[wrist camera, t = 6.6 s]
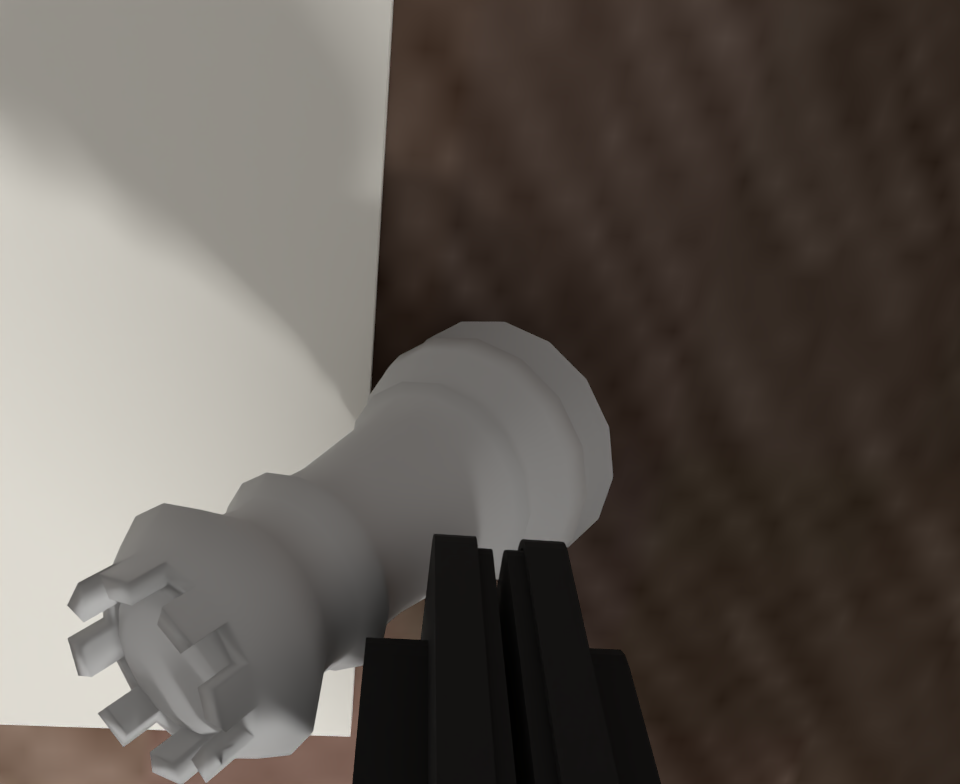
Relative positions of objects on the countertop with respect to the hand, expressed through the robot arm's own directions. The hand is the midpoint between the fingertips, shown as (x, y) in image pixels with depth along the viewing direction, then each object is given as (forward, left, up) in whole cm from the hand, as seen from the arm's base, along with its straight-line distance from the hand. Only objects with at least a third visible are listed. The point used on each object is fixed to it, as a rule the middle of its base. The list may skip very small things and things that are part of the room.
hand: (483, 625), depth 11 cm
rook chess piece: (-1, 0, -5) cm, 5 cm away
